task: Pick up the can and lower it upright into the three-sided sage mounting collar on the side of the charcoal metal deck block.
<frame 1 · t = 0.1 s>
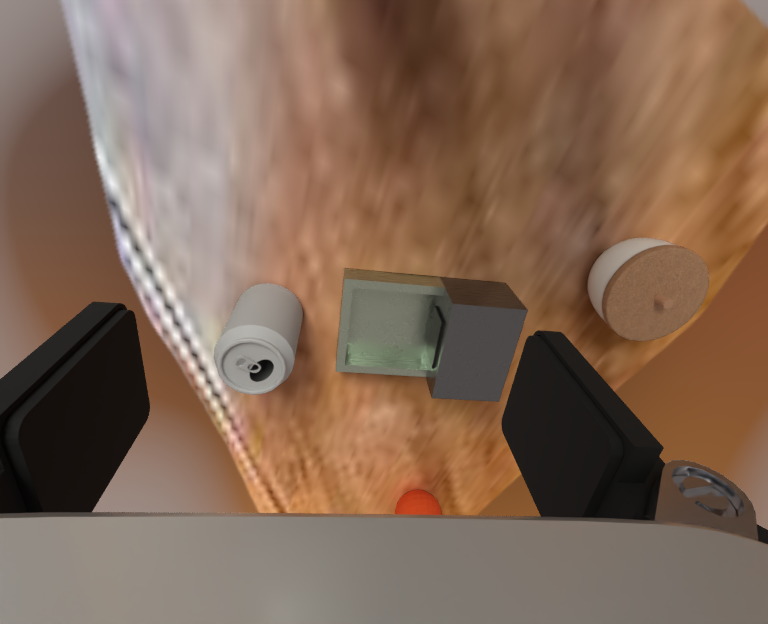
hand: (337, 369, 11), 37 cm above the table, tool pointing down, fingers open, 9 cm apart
can: (271, 308, 50), on the table
tomato: (413, 496, 67), on the table
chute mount: (390, 319, 52), on the table
lidded jar: (615, 268, 51), on the table
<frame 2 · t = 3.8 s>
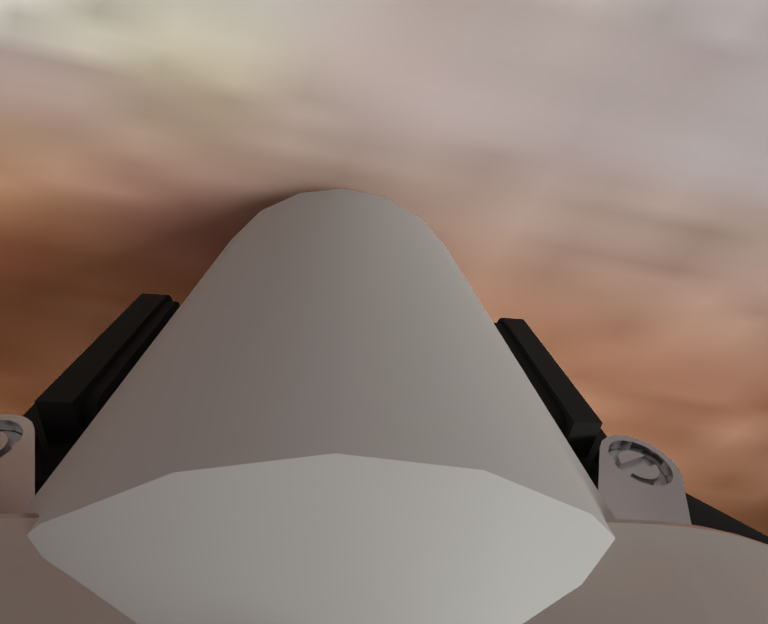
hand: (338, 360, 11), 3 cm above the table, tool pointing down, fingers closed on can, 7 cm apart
can: (340, 297, 14), on the table, touching gripper
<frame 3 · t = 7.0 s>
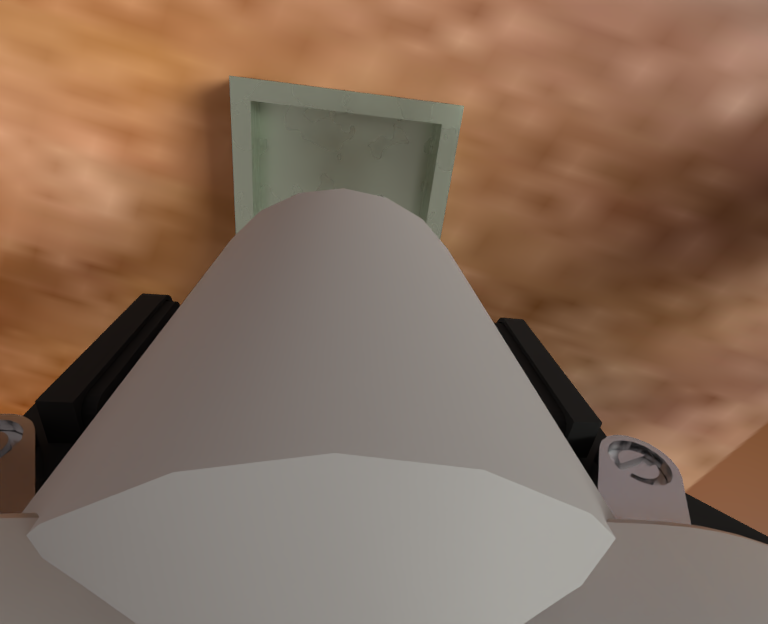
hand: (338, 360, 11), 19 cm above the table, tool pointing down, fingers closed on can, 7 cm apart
can: (340, 297, 14), point 15 cm above the table, touching gripper
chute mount: (342, 196, 27), on the table
when the fingers open (6 cm above the table, at t = 10.2 s): can drops 2 cm, resting on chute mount.
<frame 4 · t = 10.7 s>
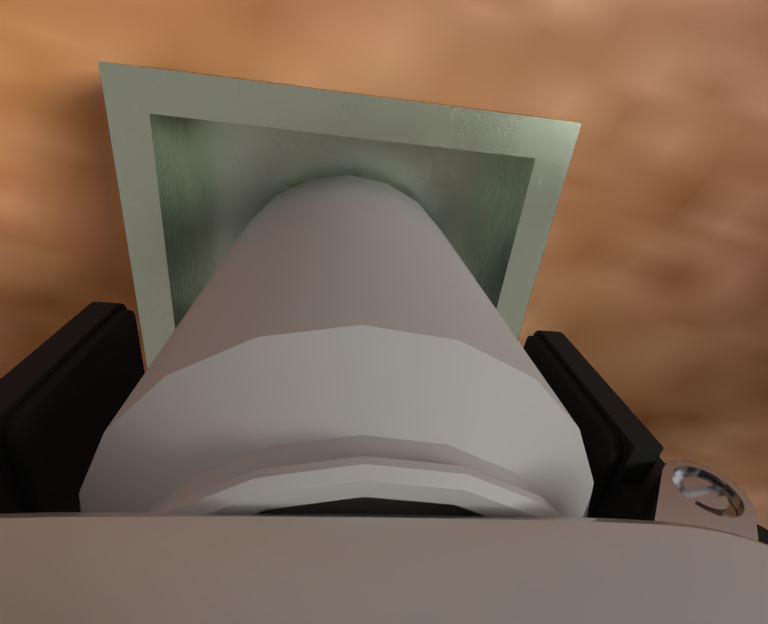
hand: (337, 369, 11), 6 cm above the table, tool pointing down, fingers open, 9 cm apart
can: (345, 275, 16), resting on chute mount
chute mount: (340, 272, 16), on the table
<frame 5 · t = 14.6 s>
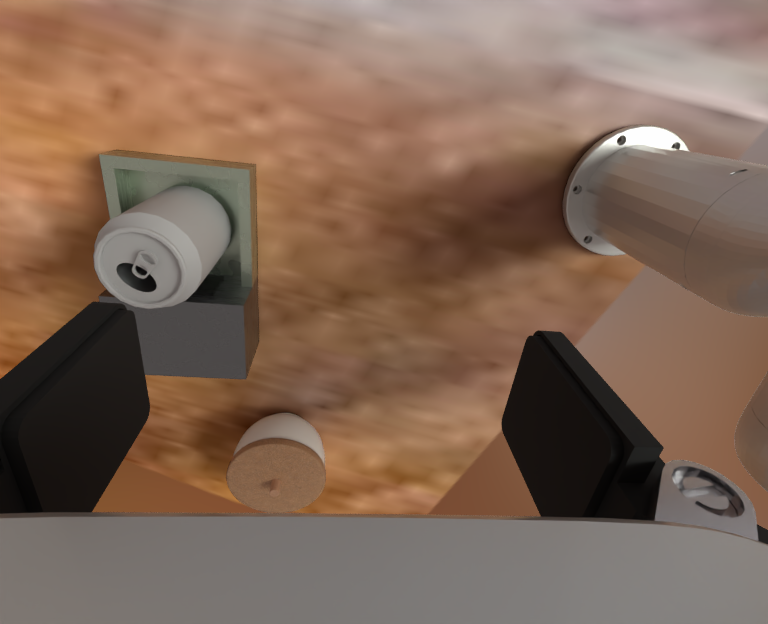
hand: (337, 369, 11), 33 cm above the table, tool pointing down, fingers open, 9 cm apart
can: (193, 223, 41), resting on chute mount
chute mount: (192, 222, 41), on the table
lidded jar: (285, 430, 54), on the table
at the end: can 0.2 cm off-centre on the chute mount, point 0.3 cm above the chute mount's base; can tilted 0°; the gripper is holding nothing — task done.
